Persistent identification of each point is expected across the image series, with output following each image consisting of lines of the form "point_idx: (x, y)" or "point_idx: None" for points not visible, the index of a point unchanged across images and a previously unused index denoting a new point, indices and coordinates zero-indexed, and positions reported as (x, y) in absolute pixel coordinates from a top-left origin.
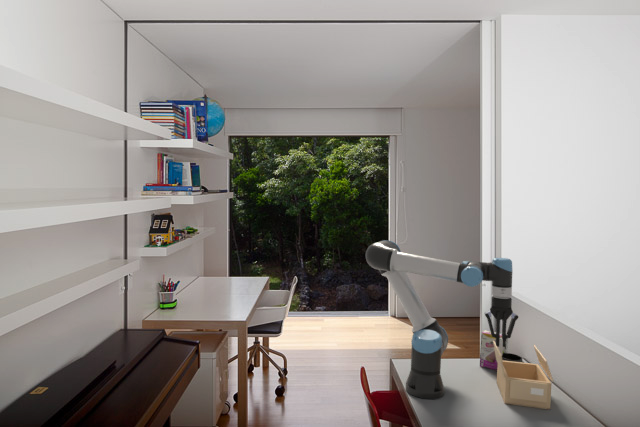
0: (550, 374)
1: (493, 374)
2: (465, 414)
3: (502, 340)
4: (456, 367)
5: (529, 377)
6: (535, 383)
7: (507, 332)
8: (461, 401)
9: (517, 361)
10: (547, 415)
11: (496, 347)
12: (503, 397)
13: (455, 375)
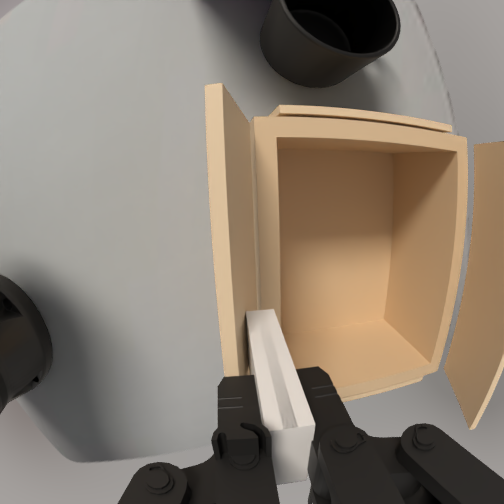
0: (454, 386)
1: (236, 38)
2: (136, 434)
3: (302, 473)
4: (79, 33)
5: (395, 150)
6: (382, 390)
7: (430, 487)
8: (108, 372)
9: (375, 58)
10: None
11: (227, 374)
12: None
13: (63, 127)
